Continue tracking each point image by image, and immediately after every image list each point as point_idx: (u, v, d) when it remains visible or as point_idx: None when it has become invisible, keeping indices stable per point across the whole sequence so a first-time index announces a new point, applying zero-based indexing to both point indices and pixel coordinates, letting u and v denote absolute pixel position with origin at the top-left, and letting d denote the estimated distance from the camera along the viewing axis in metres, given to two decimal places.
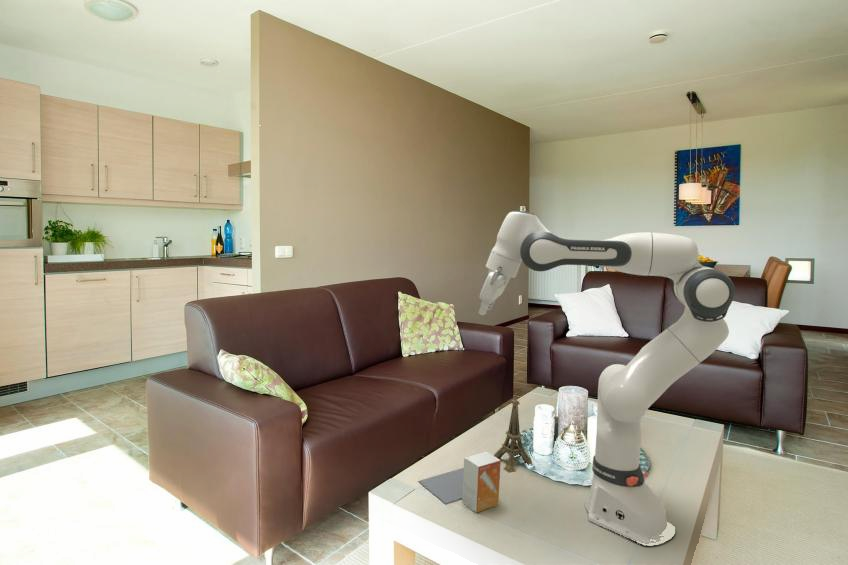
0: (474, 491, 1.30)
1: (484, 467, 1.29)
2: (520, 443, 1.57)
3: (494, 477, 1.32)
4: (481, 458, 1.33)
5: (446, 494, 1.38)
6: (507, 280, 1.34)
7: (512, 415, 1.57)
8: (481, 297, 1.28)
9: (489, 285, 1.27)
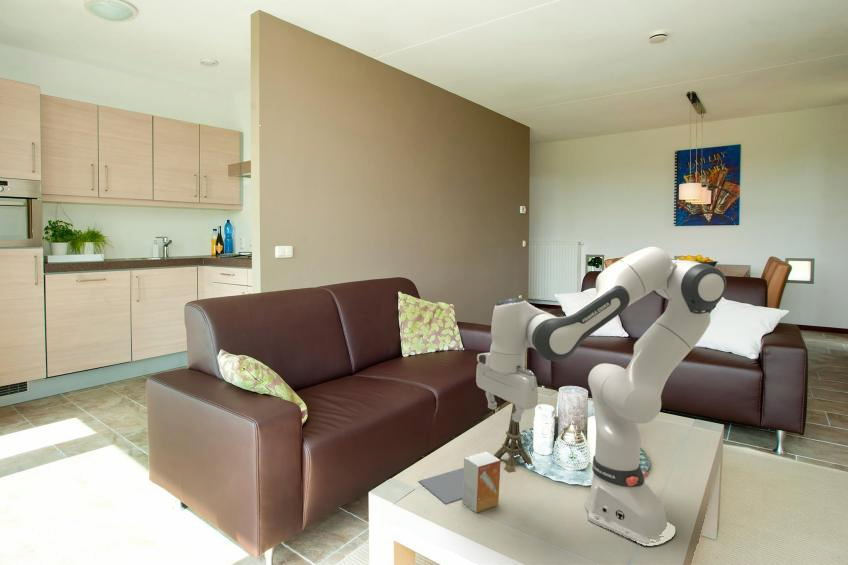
0: (474, 491, 1.30)
1: (484, 467, 1.29)
2: (520, 443, 1.57)
3: (494, 477, 1.32)
4: (481, 458, 1.33)
5: (446, 494, 1.38)
6: None
7: None
8: (528, 407, 1.15)
9: (531, 392, 1.16)
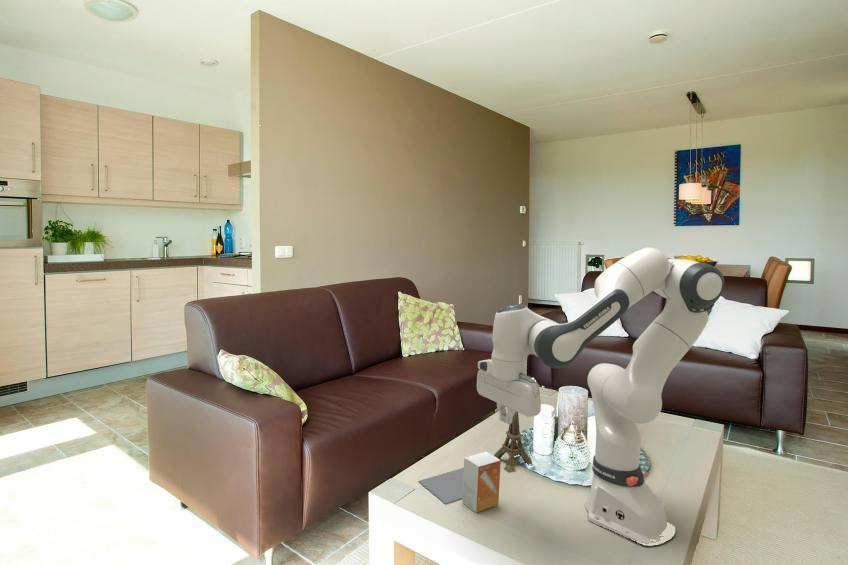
0: (474, 491, 1.30)
1: (484, 467, 1.29)
2: (520, 443, 1.57)
3: (494, 477, 1.32)
4: (481, 458, 1.33)
5: (446, 494, 1.38)
6: None
7: None
8: (531, 415, 1.15)
9: (534, 399, 1.15)
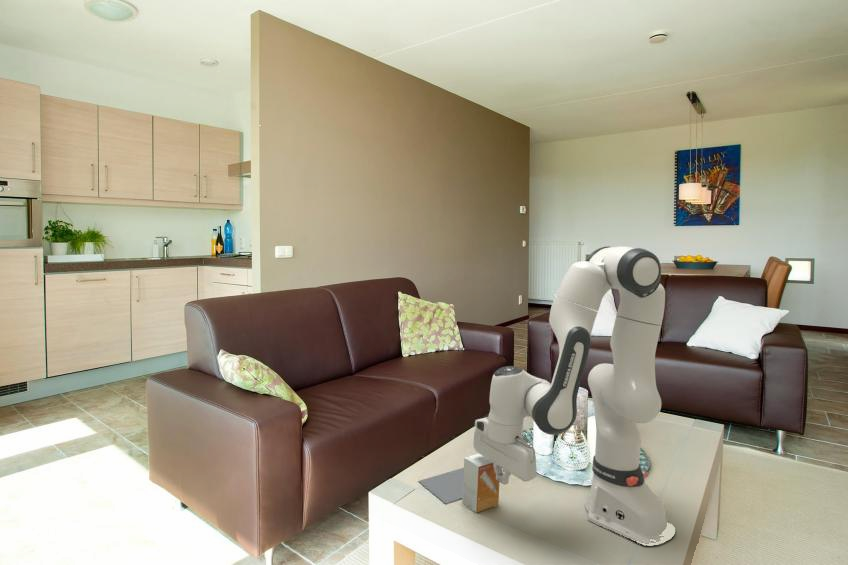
0: (474, 491, 1.30)
1: (484, 467, 1.29)
2: None
3: (494, 477, 1.32)
4: (481, 458, 1.33)
5: (446, 494, 1.38)
6: None
7: None
8: (527, 480, 1.17)
9: (530, 464, 1.17)
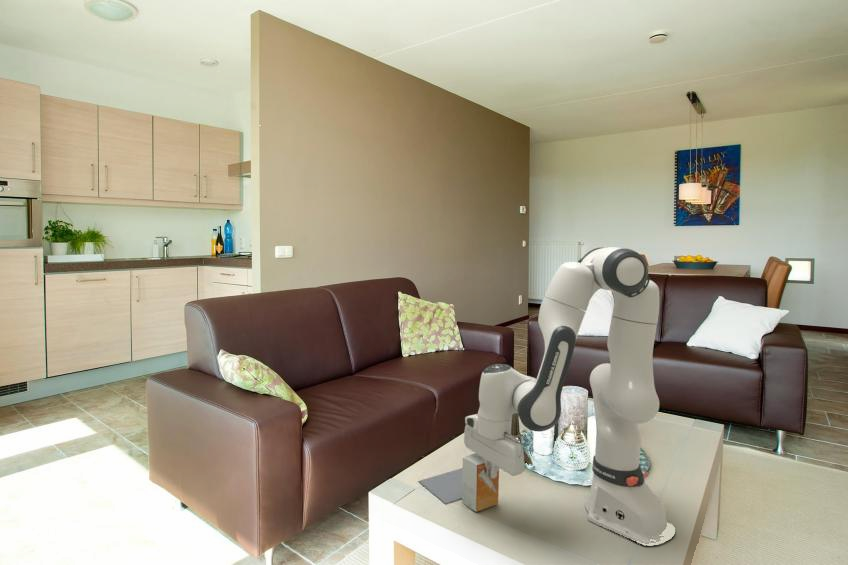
0: (473, 490, 1.30)
1: (483, 465, 1.30)
2: None
3: None
4: (479, 456, 1.33)
5: (446, 494, 1.38)
6: None
7: (512, 415, 1.57)
8: (515, 474, 1.20)
9: (518, 459, 1.20)
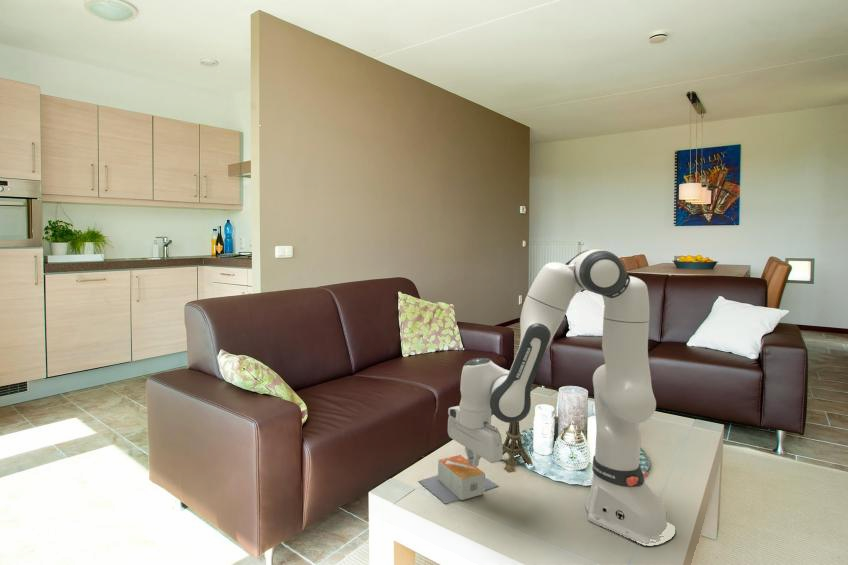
0: (451, 474, 1.39)
1: (445, 459, 1.46)
2: (520, 443, 1.57)
3: (463, 462, 1.44)
4: None
5: (446, 494, 1.38)
6: None
7: None
8: (494, 461, 1.27)
9: (497, 447, 1.27)
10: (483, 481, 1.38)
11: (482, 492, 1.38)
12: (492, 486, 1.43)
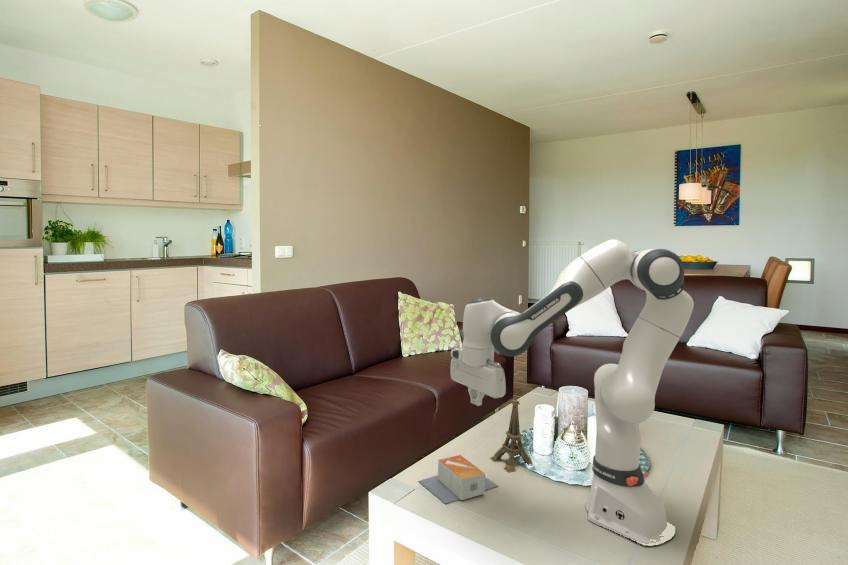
0: (451, 474, 1.39)
1: (445, 459, 1.46)
2: (520, 443, 1.57)
3: (463, 462, 1.44)
4: None
5: (446, 494, 1.38)
6: None
7: (512, 415, 1.57)
8: (497, 396, 1.28)
9: (500, 382, 1.28)
10: (483, 481, 1.38)
11: (482, 492, 1.38)
12: (492, 486, 1.43)
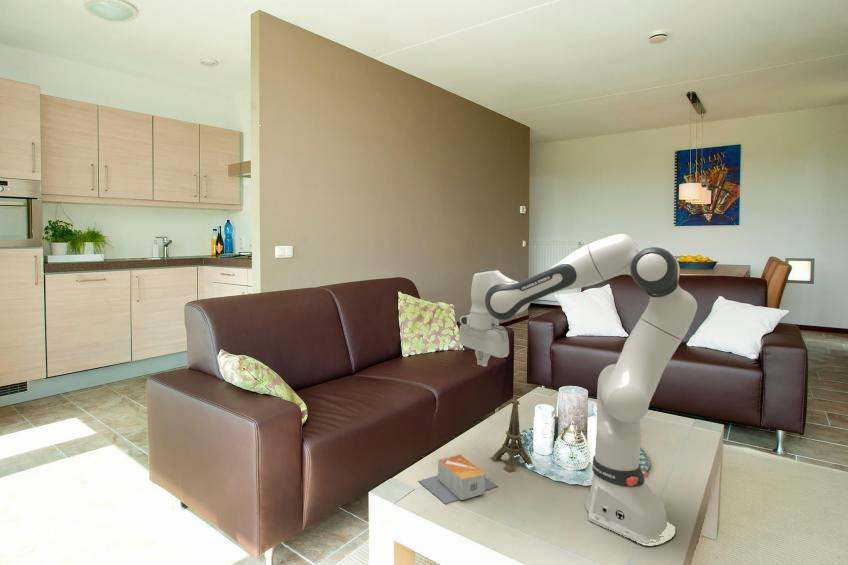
0: (451, 474, 1.39)
1: (445, 459, 1.46)
2: (520, 443, 1.57)
3: (463, 462, 1.44)
4: None
5: (446, 494, 1.38)
6: None
7: (512, 415, 1.57)
8: (501, 356, 1.43)
9: (504, 343, 1.43)
10: (483, 481, 1.38)
11: (482, 492, 1.38)
12: (492, 486, 1.43)
